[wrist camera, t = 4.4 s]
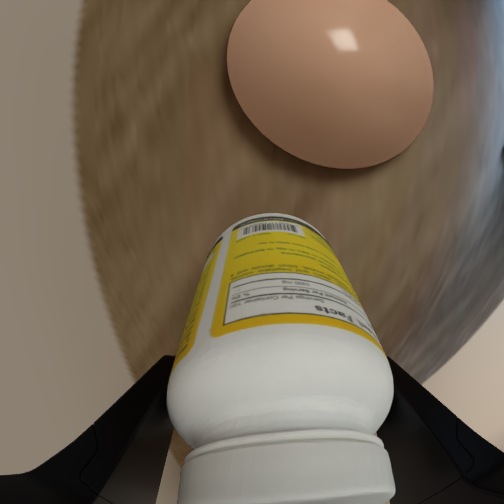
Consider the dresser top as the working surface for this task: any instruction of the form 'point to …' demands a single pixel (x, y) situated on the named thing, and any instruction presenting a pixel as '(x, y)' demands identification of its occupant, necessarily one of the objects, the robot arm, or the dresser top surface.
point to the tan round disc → (331, 78)
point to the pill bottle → (279, 376)
